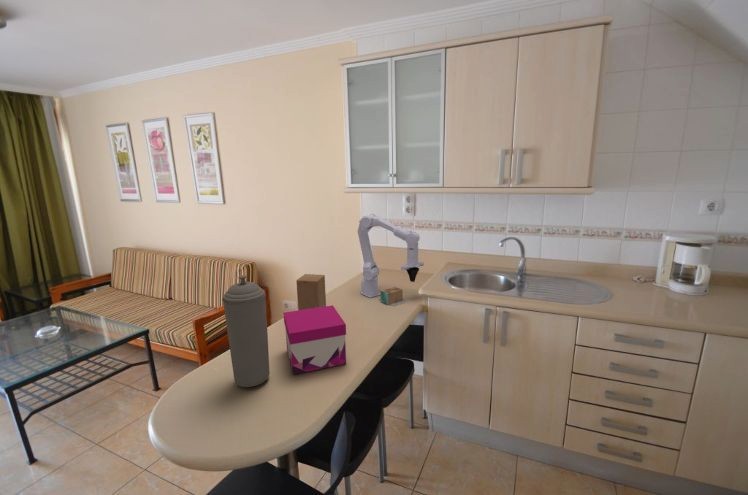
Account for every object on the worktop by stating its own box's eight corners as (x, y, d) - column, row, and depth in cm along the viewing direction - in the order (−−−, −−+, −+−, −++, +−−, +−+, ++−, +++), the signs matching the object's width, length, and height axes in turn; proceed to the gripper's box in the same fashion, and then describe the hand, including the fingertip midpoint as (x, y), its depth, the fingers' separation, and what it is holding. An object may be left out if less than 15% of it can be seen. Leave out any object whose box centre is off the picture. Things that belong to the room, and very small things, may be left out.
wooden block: (319, 323, 152) (317, 281, 148) (298, 322, 154) (295, 280, 150) (326, 314, 162) (325, 274, 158) (307, 313, 164) (304, 273, 160)
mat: (378, 300, 180) (378, 299, 179) (394, 295, 186) (394, 295, 186) (393, 307, 170) (393, 306, 170) (409, 302, 177) (409, 301, 177)
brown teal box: (380, 290, 175) (394, 286, 181) (380, 301, 176) (395, 297, 182) (387, 293, 171) (402, 289, 176) (387, 304, 172) (402, 300, 178)
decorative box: (334, 340, 137) (332, 305, 134) (347, 363, 119) (345, 324, 116) (286, 349, 130) (283, 312, 127) (292, 375, 113) (289, 333, 110)
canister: (237, 395, 103) (225, 285, 95) (227, 376, 113) (215, 275, 106) (278, 380, 110) (270, 276, 103) (265, 363, 120) (256, 268, 113)
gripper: (407, 259, 167) (407, 285, 170) (428, 255, 175) (427, 280, 178) (398, 257, 172) (398, 282, 175) (418, 252, 181) (418, 277, 184)
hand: (412, 281), depth 177 cm, fingers closed
